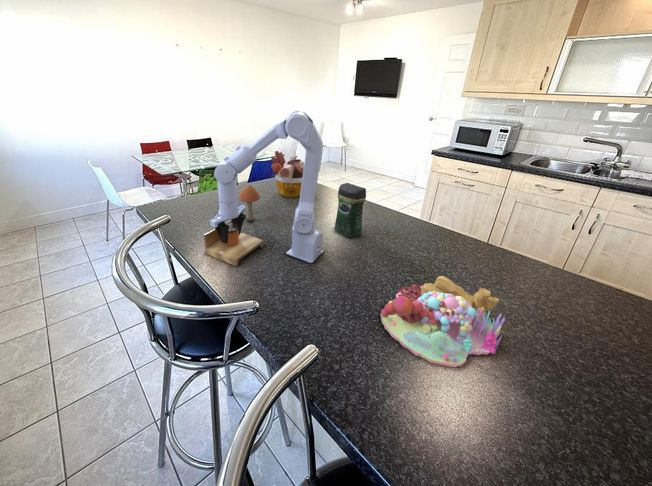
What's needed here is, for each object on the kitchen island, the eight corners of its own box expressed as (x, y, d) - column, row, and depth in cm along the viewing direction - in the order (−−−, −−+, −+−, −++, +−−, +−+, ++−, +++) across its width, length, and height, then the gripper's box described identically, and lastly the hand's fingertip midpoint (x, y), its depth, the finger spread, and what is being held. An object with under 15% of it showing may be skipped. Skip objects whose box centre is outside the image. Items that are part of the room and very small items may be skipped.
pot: (230, 236, 101) (229, 221, 98) (243, 240, 98) (242, 226, 96) (218, 243, 96) (217, 228, 94) (231, 248, 93) (230, 233, 91)
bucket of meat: (315, 193, 146) (318, 153, 138) (295, 203, 134) (297, 160, 126) (284, 184, 157) (285, 147, 149) (263, 192, 146) (263, 153, 137)
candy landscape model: (406, 278, 85) (412, 251, 81) (503, 318, 72) (516, 287, 68) (369, 329, 67) (374, 298, 63) (488, 395, 54) (505, 360, 50)
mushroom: (250, 227, 112) (249, 190, 106) (236, 221, 117) (234, 185, 110) (264, 219, 118) (264, 184, 112) (250, 214, 122) (248, 180, 116)
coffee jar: (364, 233, 109) (371, 186, 102) (351, 240, 105) (357, 191, 97) (343, 224, 116) (349, 179, 108) (330, 230, 111) (335, 183, 103)
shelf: (263, 246, 100) (263, 228, 97) (235, 266, 89) (234, 246, 86) (234, 235, 106) (233, 218, 103) (205, 253, 95) (203, 234, 92)
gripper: (234, 190, 98) (236, 226, 104) (201, 204, 87) (205, 244, 93) (250, 195, 95) (251, 231, 101) (218, 210, 84) (222, 250, 89)
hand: (230, 238), depth 96 cm, fingers closed on pot, 5 cm apart
